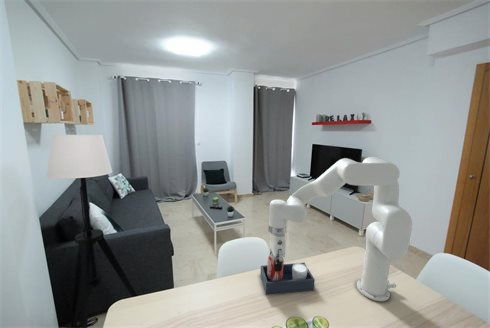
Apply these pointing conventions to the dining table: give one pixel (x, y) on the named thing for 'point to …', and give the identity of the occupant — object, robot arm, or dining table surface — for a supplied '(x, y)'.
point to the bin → (287, 281)
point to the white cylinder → (299, 271)
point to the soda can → (270, 269)
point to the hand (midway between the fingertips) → (275, 264)
